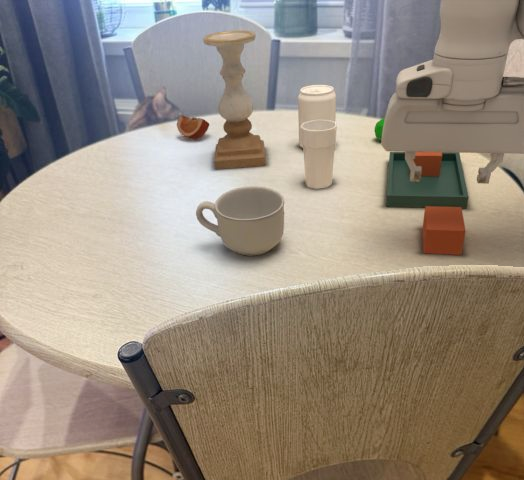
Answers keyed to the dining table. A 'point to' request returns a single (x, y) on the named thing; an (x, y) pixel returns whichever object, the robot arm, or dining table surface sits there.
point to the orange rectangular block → (429, 163)
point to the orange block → (443, 230)
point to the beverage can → (316, 105)
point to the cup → (318, 152)
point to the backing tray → (426, 184)
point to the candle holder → (235, 105)
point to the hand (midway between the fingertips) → (448, 181)
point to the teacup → (247, 219)
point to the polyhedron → (379, 128)
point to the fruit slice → (192, 127)
